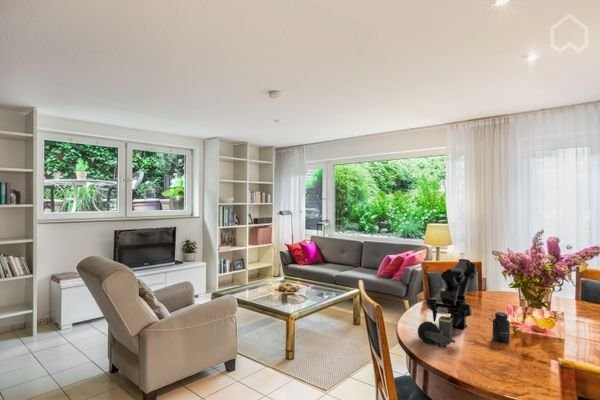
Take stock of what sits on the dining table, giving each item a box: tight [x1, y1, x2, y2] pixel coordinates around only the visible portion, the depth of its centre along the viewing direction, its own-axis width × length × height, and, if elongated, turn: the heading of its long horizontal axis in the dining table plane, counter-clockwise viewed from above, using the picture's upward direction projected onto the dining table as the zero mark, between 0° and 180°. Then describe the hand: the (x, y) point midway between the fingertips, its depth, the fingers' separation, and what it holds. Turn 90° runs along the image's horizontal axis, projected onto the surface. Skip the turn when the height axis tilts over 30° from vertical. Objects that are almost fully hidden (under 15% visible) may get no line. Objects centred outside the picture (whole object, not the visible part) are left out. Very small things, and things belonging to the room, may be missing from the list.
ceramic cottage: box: [434, 283, 448, 313], centre depth 206 cm, size 16×16×15 cm
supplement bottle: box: [492, 311, 511, 344], centre depth 158 cm, size 7×7×12 cm
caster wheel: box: [417, 320, 456, 348], centre depth 155 cm, size 6×10×15 cm
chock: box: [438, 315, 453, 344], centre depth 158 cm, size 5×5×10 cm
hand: (444, 323), depth 157 cm, fingers open, 9 cm apart
